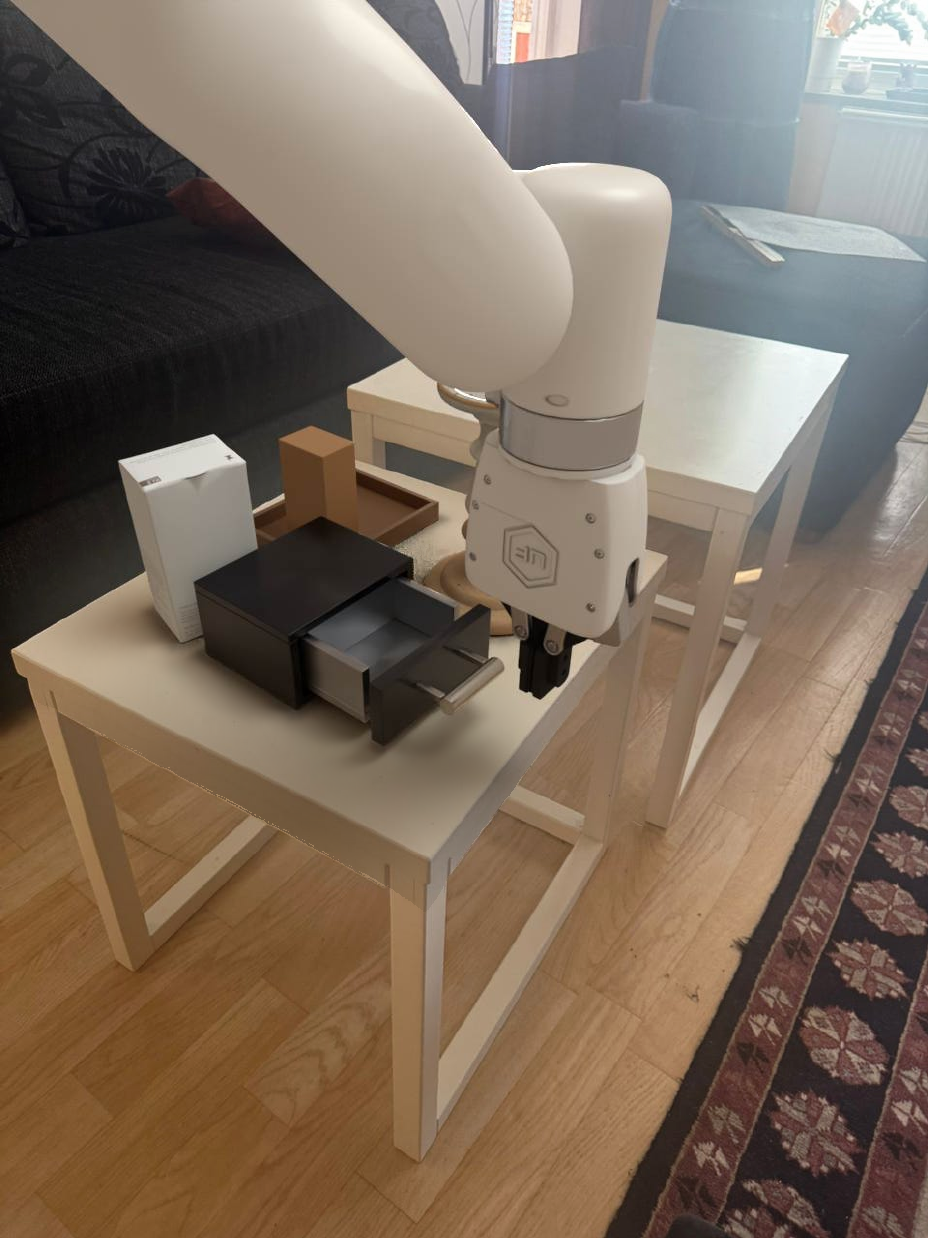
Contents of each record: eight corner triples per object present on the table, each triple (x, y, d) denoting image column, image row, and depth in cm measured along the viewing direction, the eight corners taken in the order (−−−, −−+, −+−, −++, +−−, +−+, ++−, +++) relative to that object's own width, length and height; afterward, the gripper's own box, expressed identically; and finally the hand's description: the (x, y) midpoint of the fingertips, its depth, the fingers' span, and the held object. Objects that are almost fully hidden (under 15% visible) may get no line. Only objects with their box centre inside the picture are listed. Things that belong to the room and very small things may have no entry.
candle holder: (398, 610, 76) (394, 389, 64) (462, 547, 85) (469, 342, 73) (526, 653, 72) (547, 425, 60) (580, 581, 81) (607, 370, 69)
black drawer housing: (414, 628, 74) (413, 557, 70) (297, 710, 65) (288, 635, 61) (326, 583, 79) (320, 515, 75) (206, 654, 71) (192, 581, 66)
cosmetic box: (240, 582, 79) (217, 429, 70) (270, 614, 75) (250, 457, 66) (149, 613, 75) (114, 454, 66) (177, 648, 71) (143, 485, 62)
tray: (326, 586, 79) (324, 567, 78) (237, 541, 85) (234, 522, 84) (438, 519, 89) (439, 501, 88) (352, 483, 95) (352, 466, 94)
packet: (329, 565, 81) (322, 457, 74) (289, 545, 83) (278, 438, 77) (359, 548, 83) (354, 442, 77) (319, 529, 86) (310, 425, 79)
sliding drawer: (526, 681, 68) (531, 627, 64) (423, 771, 60) (424, 714, 56) (398, 617, 74) (398, 564, 71) (290, 690, 66) (284, 635, 63)
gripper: (417, 409, 48) (419, 666, 59) (660, 492, 41) (611, 769, 51) (497, 372, 53) (485, 616, 64) (727, 441, 45) (670, 703, 56)
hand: (542, 684), depth 57 cm, fingers closed
